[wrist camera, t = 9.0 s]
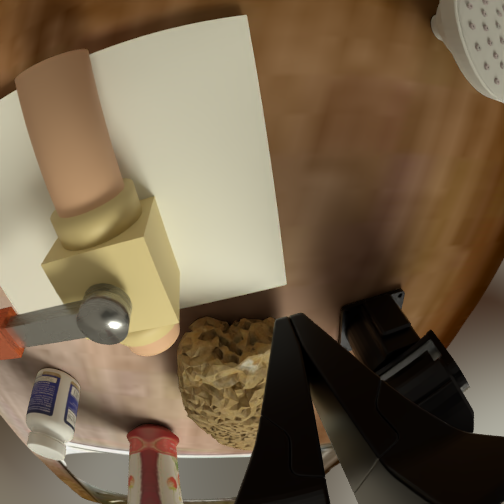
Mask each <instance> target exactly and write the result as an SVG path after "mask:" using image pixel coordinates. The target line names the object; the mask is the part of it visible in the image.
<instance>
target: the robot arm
mask: <svg viewBox="0 0 504 504" xmlns="http://www.w3.org/2000/svg"><path fill="white" fill-rule="evenodd" d="M404 294H405V293H404V291H403V290H402V289H397V290H394V291H391V292H388V293H385V294H382V295H378V296H375V297H372V298H369V299H366V300H362V301H359V302H356V303H352V304H349V305H346V306H344V307H343V308H342V309H341V321H340V336H339V343H338V342H337V341H336V340H334V339H333V338H332V337H331V336H330V335H328V334H327V333H326V332H325V331H324V330H322V329H321V328H320V327H319V326H318V325H316V324H315V323H314V322H313V321H312V320H311V319H309V318H308V317H307V316H306V315H305V314H303V313H298V314H294V315H291V316H289V317H282V318H278V319H276V320H275V322H274V329H273V336H272V343H271V350H270V357H269V363H268V370H267V377H266V383H265V389H264V396H263V402H262V408H261V416H260V419H259V425H258V431H257V436H256V440H255V445H254V448H253V452H252V455H251V458H250V462H249V465H248V468H247V470H246V473H245V476H244V479H243V482H242V484H241V487H240V490H239V492H238V495H237V498H236V500H235V503H234V504H330V500H329V495H328V490H327V485H326V479H325V472H324V466H323V460H322V454H321V448H320V443H319V437H318V431H317V426H316V420H315V415H314V409H313V404H312V401H313V403H314V405H315V408H316V410H317V412H318V414H319V416H320V419H321V421H322V423H323V425H324V428H325V430H326V432H327V434H328V437H329V439H330V441H331V443H332V446H333V448H334V450H335V452H336V455H337V457H338V459H339V461H340V463H341V466H342V468H343V470H344V472H345V474H346V477H347V479H348V481H349V484H350V486H351V488H352V490H353V492H354V495H355V497H356V499H357V501H358V504H504V437H502V436H492V435H483V434H475V433H473V430H474V412H473V410H472V408H471V406H470V404H469V402H468V401H467V399H466V397H465V396H464V394H463V392H465V391H466V390H467V389H468V388H469V387H470V386H469V384H468V382H467V381H466V378H465V377H464V375H463V373H462V372H461V370H460V368H459V367H458V365H457V364H456V363H455V361H454V359H453V358H452V357H451V355H450V354H449V353H448V351H447V350H446V348H445V347H444V346H443V344H442V343H441V342H440V340H439V339H438V338H437V336H436V335H435V334H434V332H433V331H432V330H430V331H428V332H427V333H426V335H425V336H424V337H422V338H421V339H420V338H419V336H418V335H417V333H416V332H415V330H414V329H413V327H412V326H411V323H410V322H409V320H408V319H407V317H406V316H405V314H404V313H403V312H402V310H401V308H402V304H403V299H404ZM351 350H352V351H353V353H354V355H355V356H353V355H352V354H351V353H350V352H349V351H351ZM439 356H440V357H439ZM438 357H439V358H438ZM437 358H438V359H437ZM436 359H437V360H436ZM434 360H435V361H434Z"/></svg>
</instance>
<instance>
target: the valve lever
mask: <svg viewBox="0 0 504 504" xmlns="http://www.w3.org/2000/svg"><path fill="white" fill-rule="evenodd" d="M131 312H132V303H131V300H130V298H129V296H128V295H127V294H126V293H125V292H124V291H123V290H122V289H120V288H118V287H116V286H114V285H111V284H106V283H100V284H95V285H93V286H91V287H89V288H88V289H87V290H86V292H85V294H84V297H83V300H79V301H75V302H71V303H66V304H62V305H58V306H53V307H49V308H45V309H40V310H36V311H32V312H27V313H23V314H19V315H17V314H16V313H15V311H14V310H13V308H12V307H8V308H4V309H0V360H5V359H14V358H21V357H22V354H23V351H24V349H25V347H30V346H37V345H44V344H50V343H56V342H62V341H68V340H74V339H80V338H86V337H87V338H89V339H90V340H92V341H94V342H97V343H100V344H107V345H111V344H117V343H120V342H122V341H123V340H124V339H125V338H126V337H127V335H128V330H129V324H130V318H131Z"/></svg>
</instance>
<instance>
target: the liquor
mask: <svg viewBox="0 0 504 504" xmlns="http://www.w3.org/2000/svg"><path fill="white" fill-rule="evenodd" d="M127 439H128V441H129V442H130V452H129V478H128V504H183V501H182V495H181V488H180V480H179V472H178V464H177V452H176V446H177V444H178V443H179V438H178V437H177V436H176V435H175V434H173V433H172V432H171V431H170V430H168V429H167V428H166V427H163V426H160V425H155V424H143V425H140V426H138V427H136V428H135V429H133V430H132V431H130V432H129V433H128V434H127Z"/></svg>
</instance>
